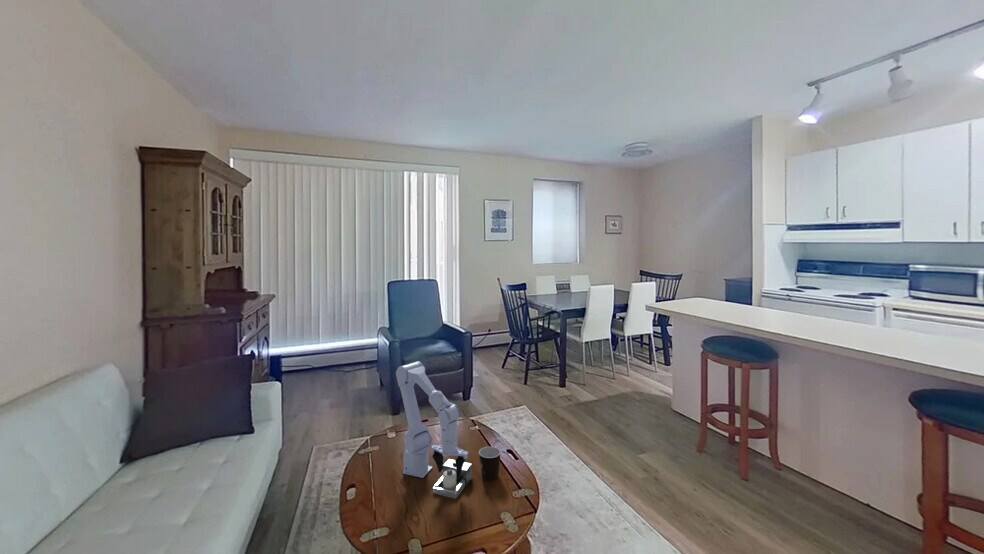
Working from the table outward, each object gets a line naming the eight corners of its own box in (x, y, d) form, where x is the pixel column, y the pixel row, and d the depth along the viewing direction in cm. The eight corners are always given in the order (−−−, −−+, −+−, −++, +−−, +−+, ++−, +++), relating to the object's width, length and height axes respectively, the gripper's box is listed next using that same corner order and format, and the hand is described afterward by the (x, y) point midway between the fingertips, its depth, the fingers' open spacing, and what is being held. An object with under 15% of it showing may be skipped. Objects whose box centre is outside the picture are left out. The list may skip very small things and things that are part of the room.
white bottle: (440, 491, 146) (440, 472, 145) (447, 483, 150) (447, 465, 150) (452, 494, 144) (451, 475, 143) (458, 487, 148) (458, 468, 148)
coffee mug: (498, 483, 150) (498, 458, 149) (477, 481, 152) (476, 456, 151) (503, 467, 161) (503, 443, 160) (483, 465, 163) (483, 442, 162)
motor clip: (471, 478, 154) (471, 461, 153) (456, 499, 141) (456, 480, 141) (443, 471, 158) (443, 455, 158) (426, 491, 146) (426, 473, 145)
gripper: (426, 439, 145) (427, 474, 146) (462, 446, 139) (462, 483, 141) (436, 431, 151) (436, 464, 152) (470, 437, 146) (470, 472, 147)
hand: (449, 472), depth 147 cm, fingers open, 7 cm apart
